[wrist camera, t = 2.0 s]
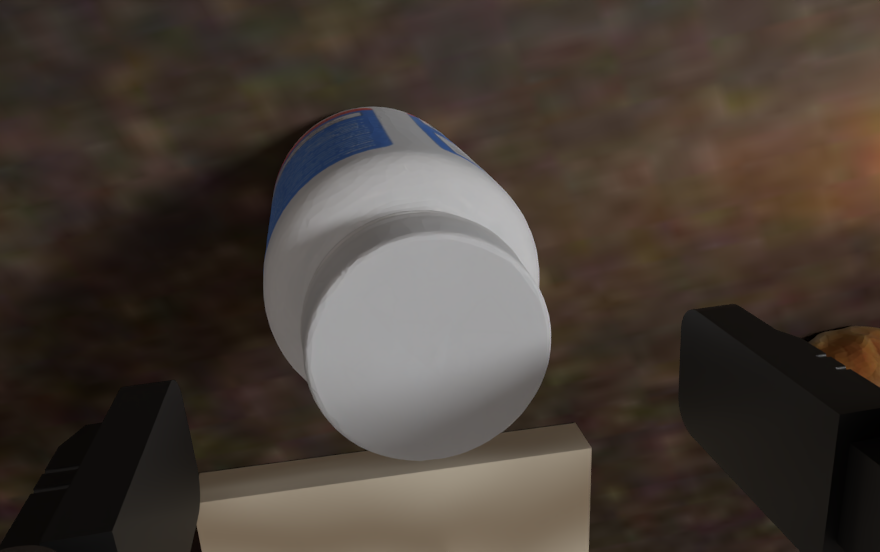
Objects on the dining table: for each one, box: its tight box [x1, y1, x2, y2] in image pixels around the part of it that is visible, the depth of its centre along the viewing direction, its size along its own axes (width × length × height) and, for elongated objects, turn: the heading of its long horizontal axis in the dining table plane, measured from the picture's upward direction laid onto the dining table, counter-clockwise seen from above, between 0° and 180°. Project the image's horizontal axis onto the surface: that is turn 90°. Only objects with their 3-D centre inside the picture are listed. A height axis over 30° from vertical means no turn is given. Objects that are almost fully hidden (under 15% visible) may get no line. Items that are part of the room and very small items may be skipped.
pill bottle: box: [263, 107, 551, 461], centre depth 16 cm, size 6×5×10 cm
